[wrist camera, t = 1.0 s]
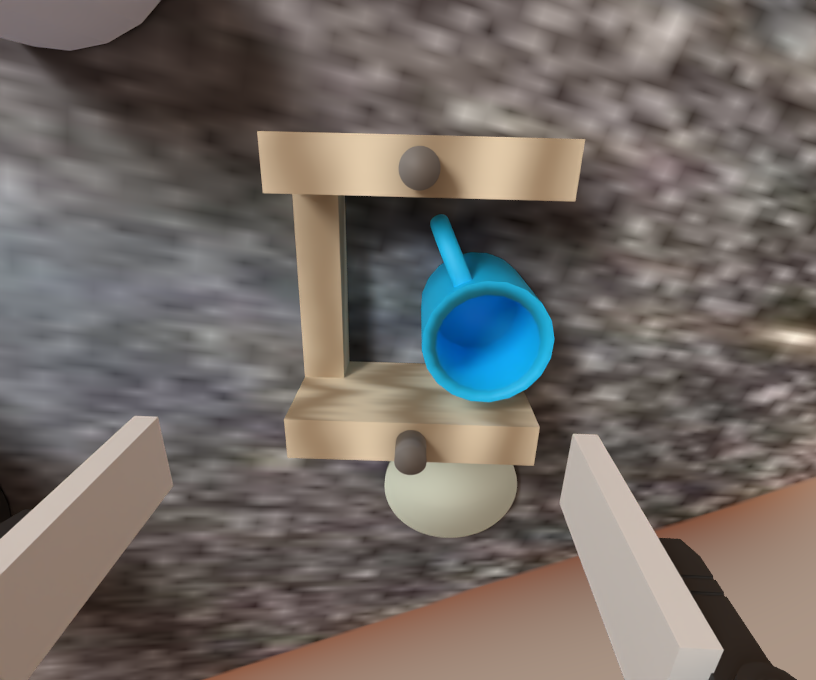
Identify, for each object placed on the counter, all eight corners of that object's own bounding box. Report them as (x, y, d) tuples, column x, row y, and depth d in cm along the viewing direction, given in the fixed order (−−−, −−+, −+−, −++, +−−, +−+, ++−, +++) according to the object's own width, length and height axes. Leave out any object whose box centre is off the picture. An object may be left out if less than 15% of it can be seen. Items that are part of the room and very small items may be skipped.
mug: (539, 329, 37) (570, 375, 29) (444, 365, 38) (450, 419, 31) (487, 183, 33) (508, 194, 25) (383, 230, 34) (373, 254, 26)
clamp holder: (315, 392, 39) (279, 477, 29) (299, 135, 32) (242, 129, 21) (509, 398, 39) (541, 486, 29) (540, 141, 31) (599, 138, 21)
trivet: (384, 529, 45) (384, 535, 44) (385, 424, 40) (384, 429, 40) (508, 533, 45) (509, 539, 44) (522, 428, 40) (524, 434, 39)
